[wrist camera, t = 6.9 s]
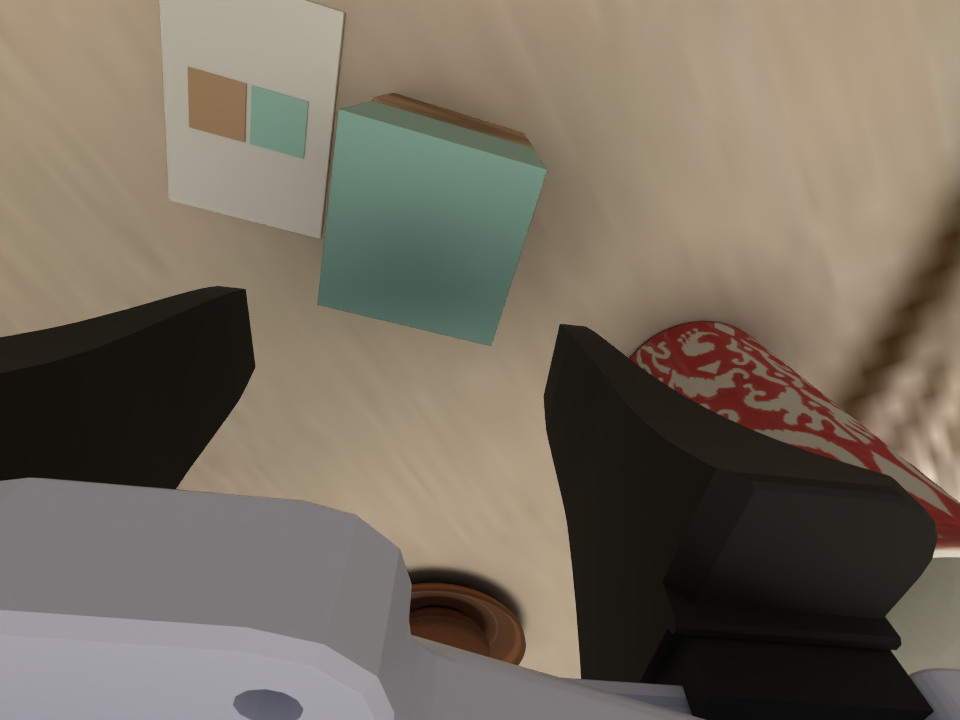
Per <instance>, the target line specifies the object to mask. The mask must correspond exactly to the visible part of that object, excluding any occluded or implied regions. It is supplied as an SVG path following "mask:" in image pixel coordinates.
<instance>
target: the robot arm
mask: <svg viewBox="0 0 960 720" xmlns="http://www.w3.org/2000/svg"><path fill="white" fill-rule="evenodd" d="M254 369H255V360H254V352H253V344H252V336H251V328H250V320H249V312H248V305H247V297H246V289H239V288H230V287H221V286H215V287H207V288H202V289H198V290H194V291H190V292H186V293H182V294H178V295H175V296H171V297H168V298H164V299H161V300H158V301H154V302H151V303H147V304H144V305H140V306H137V307H133V308H130V309H126V310H122V311H119V312H115V313H111V314H107V315H103V316H100V317H96V318H92V319H88V320H84V321H80V322H76V323H72V324H68V325H63V326H59V327H54V328H49V329H44V330H39V331H34V332H28V333H23V334H18V335H12V336H6V337H0V720H960V670H959V669H945V668H932V669H924V670H920V671H917V672H914V673H911V674H910V675H908V674H907V672H906V671H905V670H904V668H903V667H902V665H901V664H900V663H899V661H898V660H897V658H896V657H895V656H894V654H893V653H892V651H891V650H897V649H898V648H899V647H900V646H901V645H902V644H901V637H900V636H899V635H898V633H897V632H896V630H895V629H894V628H893V626H892V625H891V624H890V622H889V621H888V620H887V618H886V617H885V616H886V615H887V614H888V613H889V611H890V610H891V609H892V608H893V607H894V606H895V605H896V604H897V602H898V601H899V600H900V599H901V598H902V597H903V596H904V595H905V593H906V592H907V591H908V590H909V589H910V588H911V587H912V586H913V584H914V583H915V582H916V581H917V580H918V579H919V578H920V576H921V575H922V574H923V572H924V571H925V569H926V568H927V566H928V565H929V563H930V562H931V560H932V558H933V554H934V551H935V547H936V543H937V540H938V535H937V530H936V524H935V521H934V520H933V519H932V517H931V516H930V515H929V514H928V512H927V511H926V510H925V509H924V507H923V506H922V505H920V504H919V503H918V502H917V501H916V500H915V499H914V498H913V497H912V496H911V495H910V494H909V493H908V492H907V491H906V490H905V489H904V488H903V487H902V486H901V485H900V484H899V483H898V482H897V481H896V480H895V479H894V478H892V477H891V476H889V475H886V474H882V473H879V472H876V471H872V470H869V469H865V468H862V467H859V466H855V465H852V464H849V463H845V462H842V461H838V460H835V459H832V458H828V457H825V456H821V455H818V454H815V453H812V452H810V451H807V450H804V449H801V448H799V447H796V446H793V445H790V444H787V443H785V442H782V441H779V440H776V439H774V438H771V437H769V436H767V435H764V434H762V433H759V432H757V431H754V430H752V429H750V428H747V427H745V426H743V425H741V424H739V423H736V422H734V421H732V420H730V419H727V418H725V417H723V416H721V415H719V414H717V413H715V412H713V411H711V410H709V409H707V408H705V407H703V406H702V405H700V404H698V403H696V402H694V401H693V400H691V399H689V398H687V397H685V396H684V395H682V394H680V393H679V392H677V391H675V390H674V389H672V388H670V387H669V386H667V385H666V384H664V383H663V382H661V381H660V380H658V379H657V378H655V377H654V376H652V375H651V374H649V373H648V372H647V371H645V370H644V369H642V368H641V367H640V366H638V365H637V364H636V363H634V362H633V361H632V360H630V359H629V358H628V357H626V356H625V355H624V354H622V353H621V352H620V351H619V350H617V349H616V348H615V347H614V346H612V345H611V344H610V343H608V342H607V341H606V340H605V339H603V338H602V337H601V336H599V335H598V334H597V333H595V332H594V331H592V330H591V329H589V328H587V327H584V326H575V325H566V324H560V326H559V330H558V335H557V339H556V344H555V348H554V353H553V357H552V362H551V366H550V371H549V375H548V379H547V384H546V388H545V393H544V408H545V420H546V431H547V435H548V440H549V444H550V449H551V453H552V458H553V462H554V466H555V470H556V474H557V479H558V483H559V487H560V491H561V496H562V500H563V504H564V509H565V514H566V520H567V526H568V534H569V543H570V551H571V560H572V569H573V580H574V590H575V601H576V612H577V625H578V638H579V651H580V665H581V679H572V678H559V677H556V676H552V675H549V674H545V673H542V672H538V671H535V670H531V669H528V668H525V667H521V666H518V665H514V664H511V663H507V662H504V661H500V660H497V659H493V658H490V657H486V656H483V655H479V654H476V653H472V652H469V651H466V650H462V649H459V648H455V647H452V646H448V645H445V644H441V643H438V642H434V641H431V640H427V639H424V638H420V637H417V636H413V635H411V631H410V624H409V613H410V601H411V588H412V584H411V581H410V578H409V575H408V572H407V569H406V566H405V563H404V560H403V557H402V554H401V551H400V548H398V547H397V546H396V545H394V544H393V543H392V542H391V541H389V540H388V539H387V538H385V537H384V536H383V535H382V534H380V533H379V532H378V531H376V530H375V529H374V528H372V527H371V526H370V525H369V524H367V523H366V522H365V521H363V520H362V519H361V518H360V517H358V516H357V515H355V514H352V513H348V512H344V511H341V510H337V509H333V508H329V507H326V506H322V505H318V504H315V503H311V502H307V501H303V500H291V499H280V498H268V497H257V496H245V495H233V494H222V493H210V492H198V491H187V490H176V488H177V487H178V485H179V484H180V482H181V481H182V479H183V478H184V476H185V474H186V473H187V472H188V470H189V469H190V468H191V466H192V465H193V463H194V462H195V461H196V459H197V458H198V457H199V455H200V454H201V452H202V451H203V450H204V448H205V447H206V446H207V444H208V443H209V442H210V440H211V439H212V437H213V436H214V435H215V433H216V432H217V431H218V429H219V428H220V427H221V425H222V424H223V422H224V421H225V420H226V418H227V417H228V415H229V414H230V412H231V411H232V410H233V408H234V407H235V405H236V404H237V402H238V401H239V399H240V397H241V395H242V394H243V392H244V390H245V388H246V386H247V384H248V382H249V380H250V377H251V375H252V373H253V371H254Z"/></svg>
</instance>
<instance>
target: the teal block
mask: <svg viewBox="0 0 960 720" xmlns="http://www.w3.org/2000/svg"><path fill="white" fill-rule="evenodd" d="M546 172H547V169H546V167H545V166H544V164H543V163H542V161H541V160H540V158H539V156H538V155H537V153H536V152H535V150H534V149H533V148H531V147H528V146H524V145H521V144H517V143H514V142H511V141H507V140H504V139H500V138H497V137H494V136H490V135H487V134H483V133H480V132H477V131H473V130H470V129H467V128H463V127H460V126H456V125H453V124H450V123H446V122H443V121H439V120H436V119H433V118H429V117H426V116H422V115H419V114H416V113H412V112H409V111H405V110H402V109H399V108H395V107H392V106H388V105H385V104H382V103H378V102H375V101H371V102H367V103H363V104H359V105H354V106H350V107H346V108H342V109H339V112H338V121H337V130H336V139H335V148H334V157H333V166H332V175H331V185H330V194H329V203H328V212H327V221H326V230H325V239H324V248H323V258H322V267H321V276H320V285H319V294H318V303H317V305H321V306H325V307H329V308H333V309H338V310H342V311H346V312H350V313H354V314H359V315H363V316H367V317H371V318H375V319H379V320H384V321H388V322H392V323H396V324H400V325H404V326H409V327H413V328H417V329H421V330H425V331H430V332H434V333H438V334H442V335H446V336H450V337H455V338H459V339H463V340H467V341H471V342H476V343H480V344H484V345H488V346H491V345H492V342H493V339H494V336H495V332H496V329H497V326H498V323H499V320H500V317H501V314H502V310H503V307H504V304H505V301H506V298H507V295H508V292H509V288H510V285H511V282H512V279H513V276H514V273H515V270H516V266H517V263H518V260H519V257H520V254H521V251H522V248H523V245H524V241H525V238H526V235H527V232H528V229H529V226H530V223H531V219H532V216H533V213H534V210H535V207H536V204H537V201H538V197H539V194H540V191H541V188H542V185H543V182H544V179H545V175H546Z"/></svg>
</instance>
